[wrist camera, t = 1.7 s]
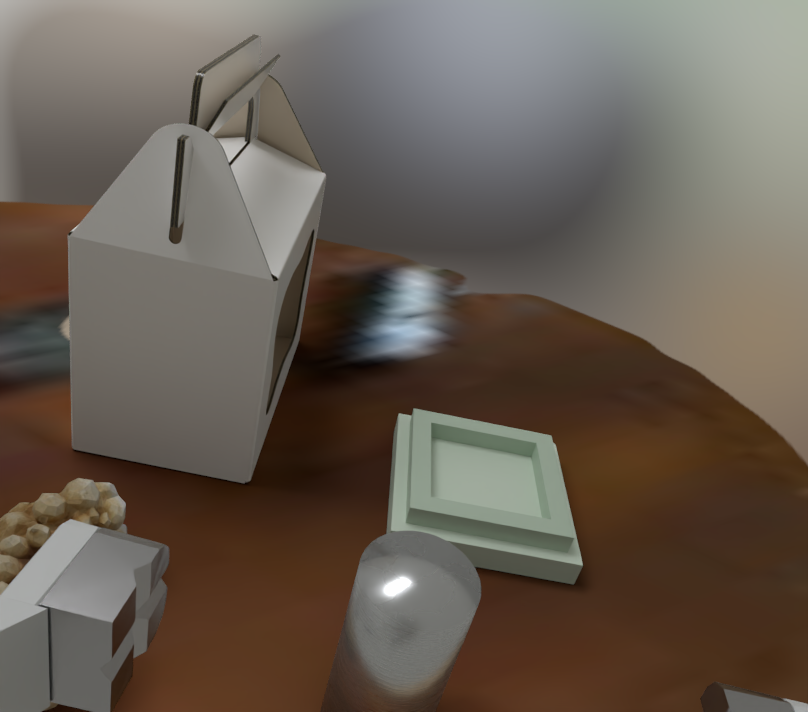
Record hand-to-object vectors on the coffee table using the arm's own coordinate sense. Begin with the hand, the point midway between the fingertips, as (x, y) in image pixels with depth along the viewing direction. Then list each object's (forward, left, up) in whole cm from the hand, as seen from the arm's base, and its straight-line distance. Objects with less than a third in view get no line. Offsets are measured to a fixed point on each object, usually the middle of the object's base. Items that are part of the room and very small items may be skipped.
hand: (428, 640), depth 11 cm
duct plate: (+11, +38, -30) cm, 49 cm away
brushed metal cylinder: (+4, +18, -30) cm, 35 cm away
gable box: (-13, +46, -30) cm, 56 cm away
